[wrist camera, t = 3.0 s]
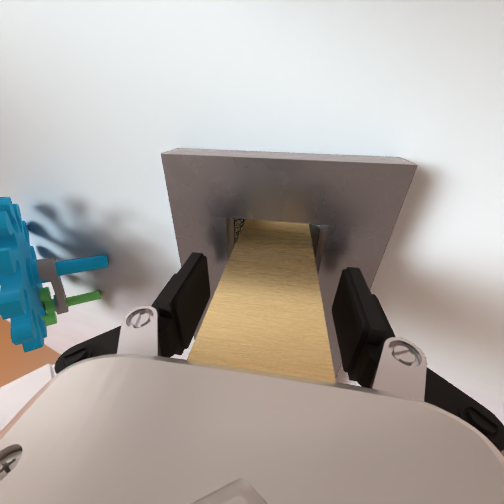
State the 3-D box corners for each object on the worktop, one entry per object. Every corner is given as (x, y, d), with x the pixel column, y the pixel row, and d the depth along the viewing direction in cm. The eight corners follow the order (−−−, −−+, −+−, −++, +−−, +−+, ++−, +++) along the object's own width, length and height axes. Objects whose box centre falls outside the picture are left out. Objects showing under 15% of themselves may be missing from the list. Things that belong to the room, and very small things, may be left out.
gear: (-29, 163, 14) (-48, 299, 9) (90, 169, 17) (121, 269, 13) (23, 275, 21) (27, 383, 16) (99, 263, 24) (122, 349, 20)
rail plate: (177, 148, 13) (159, 154, 11) (399, 157, 12) (419, 165, 10) (213, 396, 28) (207, 417, 26) (312, 413, 26) (314, 436, 25)
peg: (245, 217, 15) (149, 450, 5) (308, 222, 14) (354, 491, 4) (245, 267, 17) (179, 502, 7) (300, 273, 16) (317, 533, 6)
